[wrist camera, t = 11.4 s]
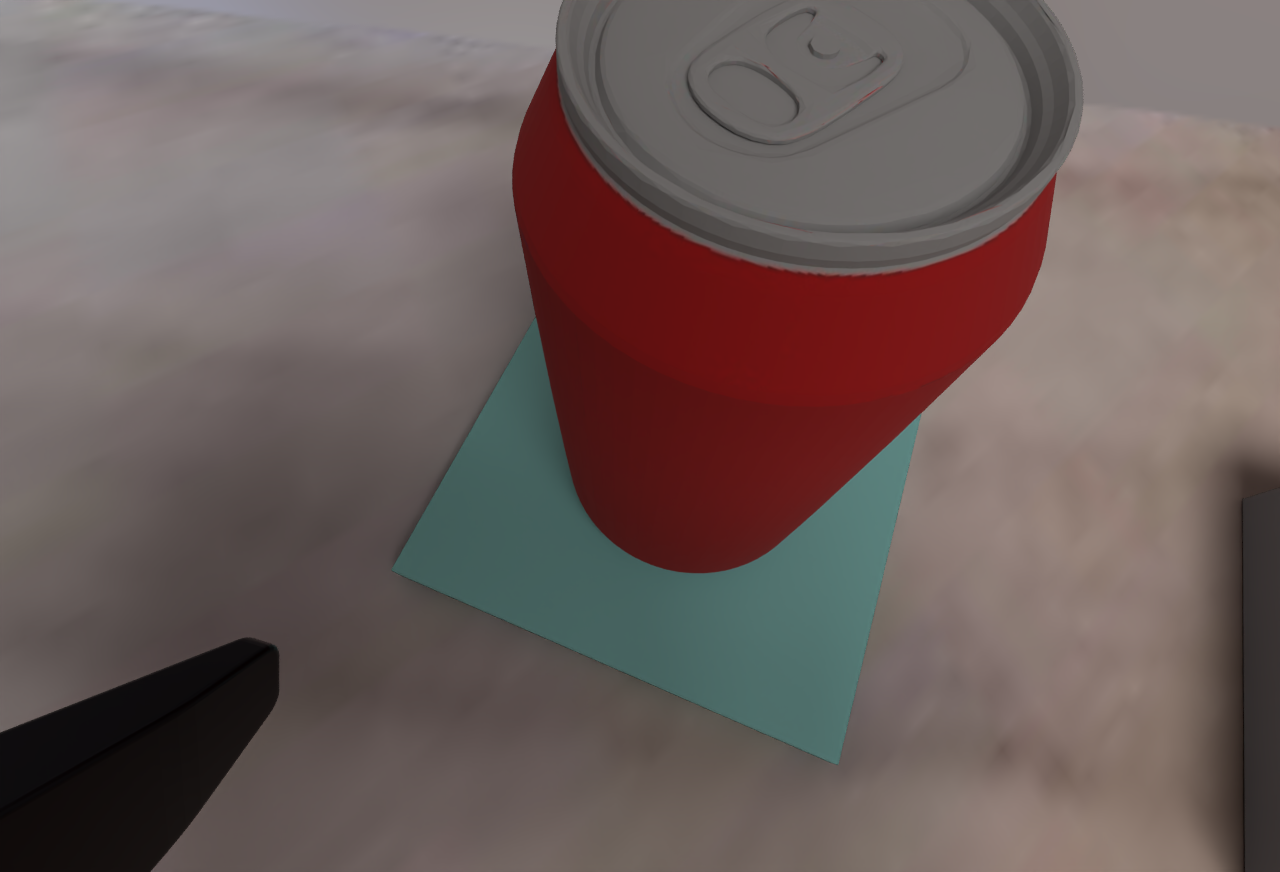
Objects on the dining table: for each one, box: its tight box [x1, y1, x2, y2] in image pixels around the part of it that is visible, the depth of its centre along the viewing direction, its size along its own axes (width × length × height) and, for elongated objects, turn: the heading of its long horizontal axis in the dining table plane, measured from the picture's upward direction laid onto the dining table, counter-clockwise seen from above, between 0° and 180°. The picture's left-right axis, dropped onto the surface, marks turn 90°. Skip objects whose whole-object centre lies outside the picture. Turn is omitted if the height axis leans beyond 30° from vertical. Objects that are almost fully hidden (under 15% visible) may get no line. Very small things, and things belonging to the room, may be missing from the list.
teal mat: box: [391, 317, 921, 765], centre depth 17 cm, size 12×12×1 cm
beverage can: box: [512, 0, 1083, 573], centre depth 12 cm, size 7×7×12 cm
